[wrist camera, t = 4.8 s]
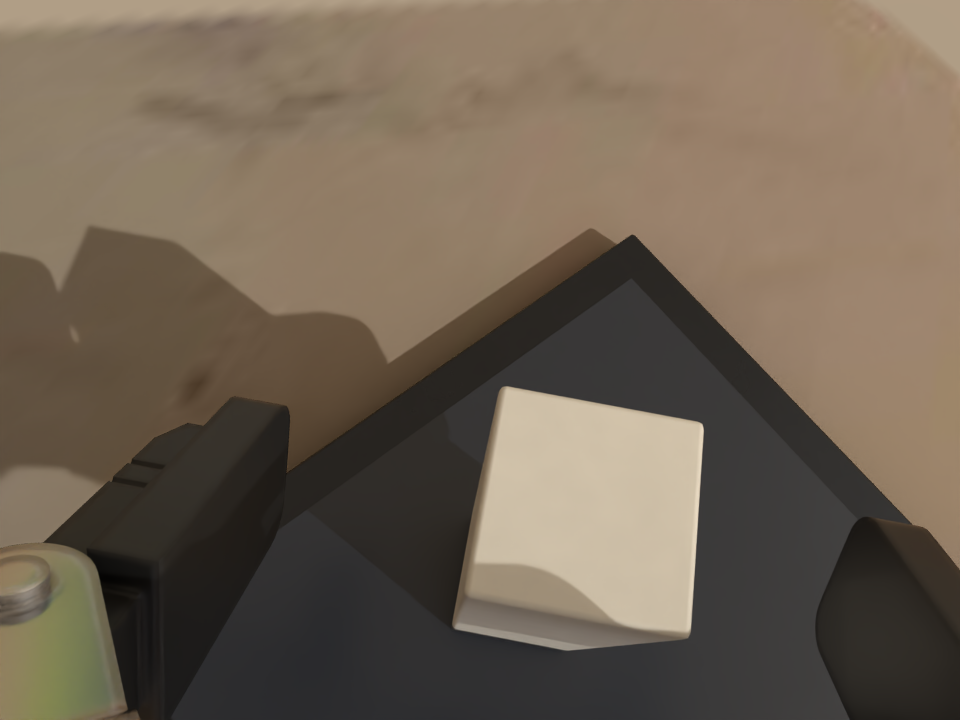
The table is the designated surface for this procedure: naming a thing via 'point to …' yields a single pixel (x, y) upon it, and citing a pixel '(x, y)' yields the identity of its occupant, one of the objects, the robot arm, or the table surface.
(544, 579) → the tall cream square pillar
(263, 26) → the table surface
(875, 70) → the table surface
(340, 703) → the tablet
